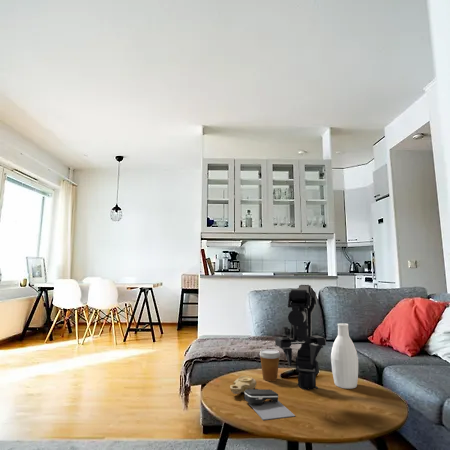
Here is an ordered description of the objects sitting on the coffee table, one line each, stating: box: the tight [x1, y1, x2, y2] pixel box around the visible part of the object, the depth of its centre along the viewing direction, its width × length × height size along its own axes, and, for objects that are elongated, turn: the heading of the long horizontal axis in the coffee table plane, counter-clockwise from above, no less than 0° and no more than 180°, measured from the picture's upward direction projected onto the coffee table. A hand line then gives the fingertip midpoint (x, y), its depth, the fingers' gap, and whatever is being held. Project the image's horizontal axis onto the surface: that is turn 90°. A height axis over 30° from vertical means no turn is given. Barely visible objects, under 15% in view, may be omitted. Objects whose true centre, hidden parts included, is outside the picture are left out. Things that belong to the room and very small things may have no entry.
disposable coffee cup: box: [259, 348, 281, 382], centre depth 151 cm, size 10×10×12 cm
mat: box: [248, 400, 296, 421], centre depth 117 cm, size 12×14×1 cm
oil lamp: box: [229, 375, 257, 395], centre depth 134 cm, size 11×14×5 cm
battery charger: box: [244, 388, 279, 405], centre depth 123 cm, size 7×4×11 cm
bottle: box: [330, 322, 359, 390], centre depth 144 cm, size 11×11×25 cm
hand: (301, 365), depth 126 cm, fingers open, 9 cm apart
